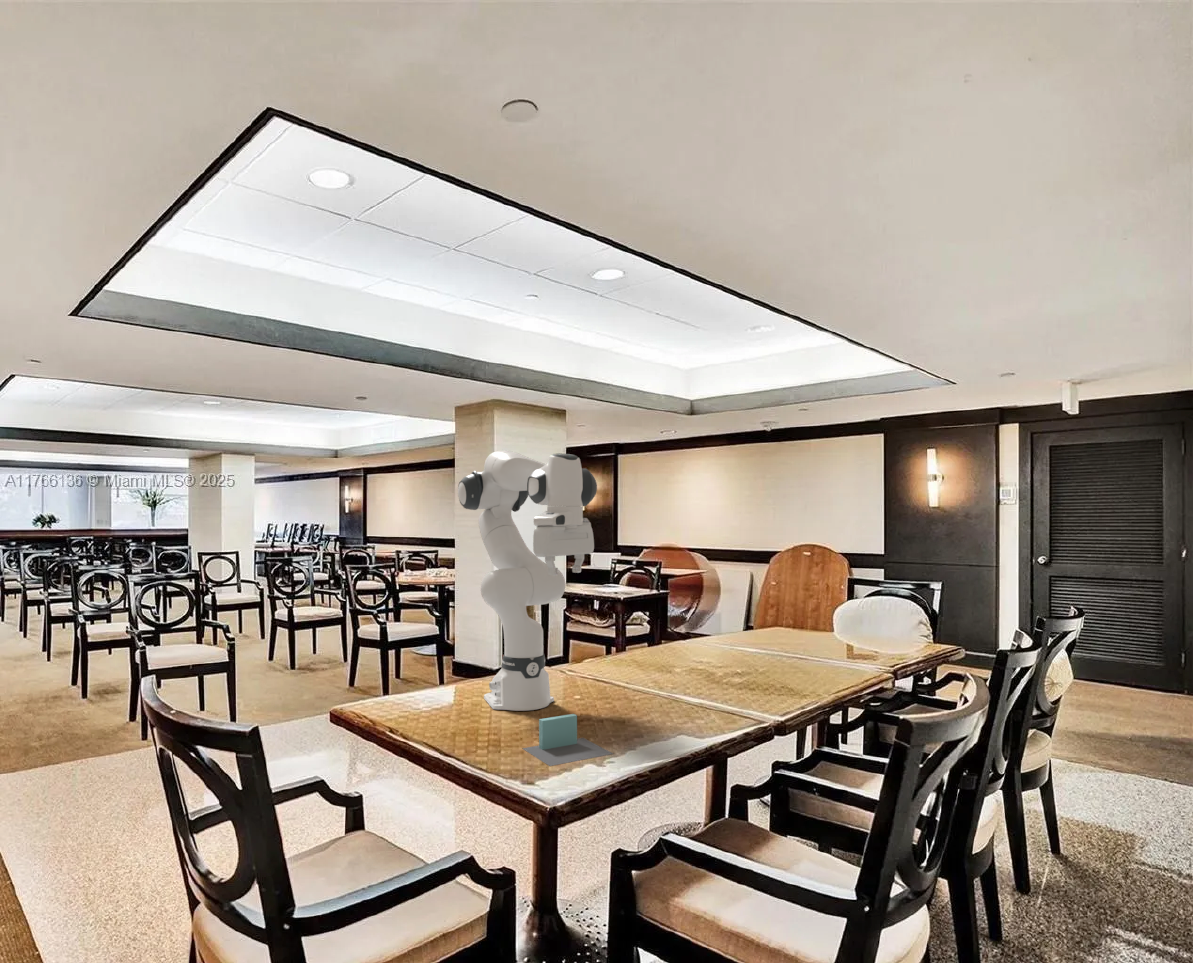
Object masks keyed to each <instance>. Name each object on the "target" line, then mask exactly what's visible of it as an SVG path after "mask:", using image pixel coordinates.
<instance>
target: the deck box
mask: <svg viewBox="0 0 1193 963" xmlns="http://www.w3.org/2000/svg"><path fill="white" fill-rule="evenodd" d="M577 739H578V716H577V714H575V713H571V714H563V715H559V716H550V717H546V718H545V717H544V718H539V719H538V746H539V748H540V749H542V750H544V749H550V748H556V747H561V746H567V745H572V744H577Z"/></svg>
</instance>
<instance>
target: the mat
mask: <svg viewBox="0 0 1193 963" xmlns="http://www.w3.org/2000/svg"><path fill="white" fill-rule="evenodd" d="M522 750H524V751H526V752H527V753H528V754H530V755H531V756H533V757H534V758H536V759H538V760H539V761H541V762H542V763H544V764H546V765H547V766H548V767H552V766H553V767H554V766H558V765H562V764H567V763H575V762H579V761H583V760H589V759H595V758H600V757H605V756H609V755H611V756H612V755H614V753H613V752H612V751H609V750H607V749H605V748H603V747H602V746H599V745H598V744H596V743H594V742H592V741H590V740H588V739H586V738H585V737H577V744H572V745H567V746H561V747H556V748H550V749H544V750H542V749H540V748H539V745H533V746H528V747H523V748H522Z"/></svg>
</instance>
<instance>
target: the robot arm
mask: <svg viewBox="0 0 1193 963" xmlns="http://www.w3.org/2000/svg"><path fill="white" fill-rule="evenodd" d="M547 460H548V461H547V463H543V462H541V461H538V460H535V459H534V458H531V457H529V456H525V455H524V454H521V453H518V452H516V451H512V450H503V449H502V450H496V451H493V452H491V453H489V455H488V456H487V457H486V458H485V461H484V465H483V470H482V471H476V470H473V471H472V472H471V473H470V474H468V475H466V476H464V477H463V478H462V479H461V480H460V481H459V483H458V485H457V486H458V487H457V497H458V499H459V500H458V501H459V503H460V505H461V506H462V507H463V509H465V510H471V511H477V510H483V511H482V512H481V513H480V514H479V517H478V528H479V533H480V536H481V537H480V538H481V540H482V542H483V544H484V547H485V549H486V552H487V555H488V556H489V558H490V561H491V563H492V564H493V566H494V567H495V568H497V569H495V570H492V571H489V572H486V573H485V575H484V576H483V577H482V580H481V582H480V594H481V597H482V599H483V601H484V602H485V603H486V605H488V606H489V607H490V608H491V609H493V610H494V612H495V613H496V614H497V615H498V617H499V620H500V622H501V624H502V628H503V629H502V630H503V639H504V640H503V644H504V646H503V648H504V654H502V655H501V656H502V659H501V665H500V666H501V669H500V670H498V672H497V673H496V675H494V677H493V678H492V680H491V681H490V682H489V684H488V685H489V687H488V688H489V690H491V691H490V692H487V693H484V695H483V699H484V700H485V701H486V702H487V704H488V705H489V707H490V708H491V709H493V710H499V711H500V710H506V711H516V712H518V711H523V712H525V711H534V710H539V709H544V708H547V707H548V706H549V705H550V704H551V703H552V702H553V703H554V701H555V697H554V696H551V689H550V688H551V687H550V676H549V675H550V674H549V672H548V671H546V669H545V667H546V657H545V653H544V628H543V626H542V625H541V623H540V622H538V621H537V620H535V619H533V618H531V617H530V616H529V615H528V612H527V611H528V610H527V607H528V606H539V605H540V606H541V605H548V604H551V603H553V602H556V601H559V600H560V599H561V598H562V597H563V595H564V593H565V591H566V579H565V577H564V575H563V573H562V572H561V571H560V569H559V568H558V567H556V564H555V561H556V557H562V556H574V559H575V560H574V565H572V566H571V568H572V569H571V571H572V573H575V574H576V573H577V574H579V573H581V572H582V565H583V563H584V561H585V555H589V554H590V555H591V554H593V552H594V551H595V550H594V549H595V539H594V532H593V531H594V530H593V528H592V523H591V522H590V520H589V519H588V518H587V517H584V514H583V512H584V511H583V509H584V508H583V507H587V506H588V505H589V504H590V503H591V502H592V501H593V499H594V498H595V496H596V495H597V491H598V484H597V479H596V478H595V476H594V475H593V474H592V472H591V471H590V470H589V469H588V468H582V463H581V459H580V457H578V456H577V455H575V454H570V453H559V452H558V453H553V454H551V455H549V457H548V459H547ZM528 497H529V499H530V500H531V501H532V502H533V503H535V504H537V505H541V506H546V507H547V510H545V511H544V512H542V513H539V514H538V515H535V516H534V517H533V525H534V526H536V527H535V528H534V530H533V535H532V538H533V539H532V540H533V542H532V547H533V548H532V549H533V552H532V551H531V550H530V549H529V547H528V546H527V544H526V543H525V540H524V539H523V537H522V535H521V534H520V531H519V529H518V527H517V525H516V523H515V521H514V520H513V517H512V511H513V512H514V513H515V512H519V510H520V509H521V507H522V506H523V505H524V504H525V502H526V501H527V499H528ZM540 558H544V561H545V562H544V561H543V560H541V559H540Z"/></svg>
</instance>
